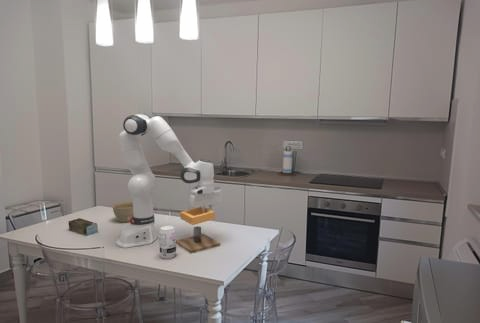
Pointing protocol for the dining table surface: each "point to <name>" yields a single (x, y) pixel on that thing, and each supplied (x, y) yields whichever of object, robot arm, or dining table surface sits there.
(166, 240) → the supplement can
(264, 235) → the dining table surface
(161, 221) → the dining table surface
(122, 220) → the planter bowl
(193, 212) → the orange square tray
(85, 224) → the beverage carton
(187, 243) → the wooden peg stand
